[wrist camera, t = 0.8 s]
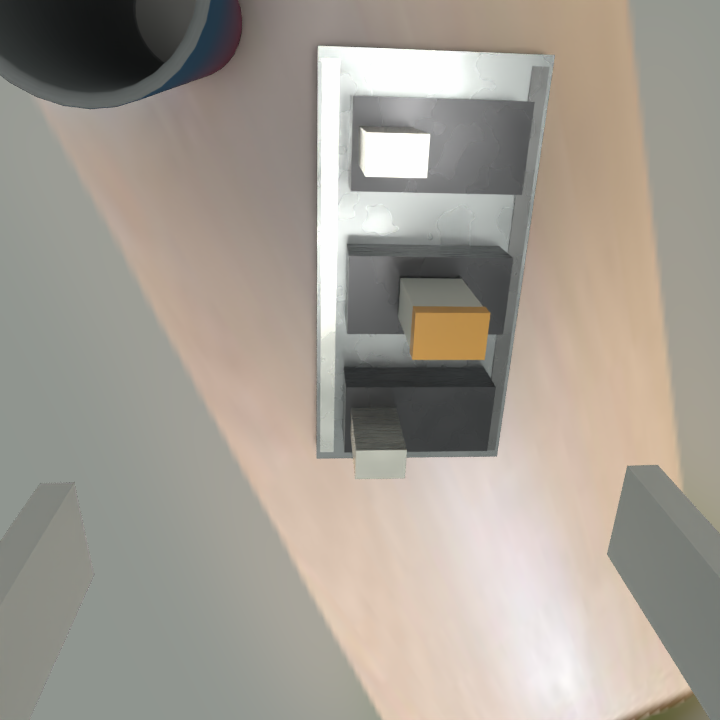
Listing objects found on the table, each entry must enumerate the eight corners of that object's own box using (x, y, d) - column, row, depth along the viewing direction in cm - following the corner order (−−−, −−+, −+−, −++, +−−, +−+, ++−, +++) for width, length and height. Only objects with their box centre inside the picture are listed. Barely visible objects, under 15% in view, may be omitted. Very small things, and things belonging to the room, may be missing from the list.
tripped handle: (399, 277, 29) (415, 312, 25) (462, 277, 30) (490, 313, 25) (397, 317, 30) (412, 359, 26) (458, 318, 31) (484, 359, 26)
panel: (317, 47, 29) (319, 34, 21) (543, 56, 30) (620, 46, 22) (316, 445, 38) (317, 533, 30) (490, 443, 39) (532, 528, 31)
